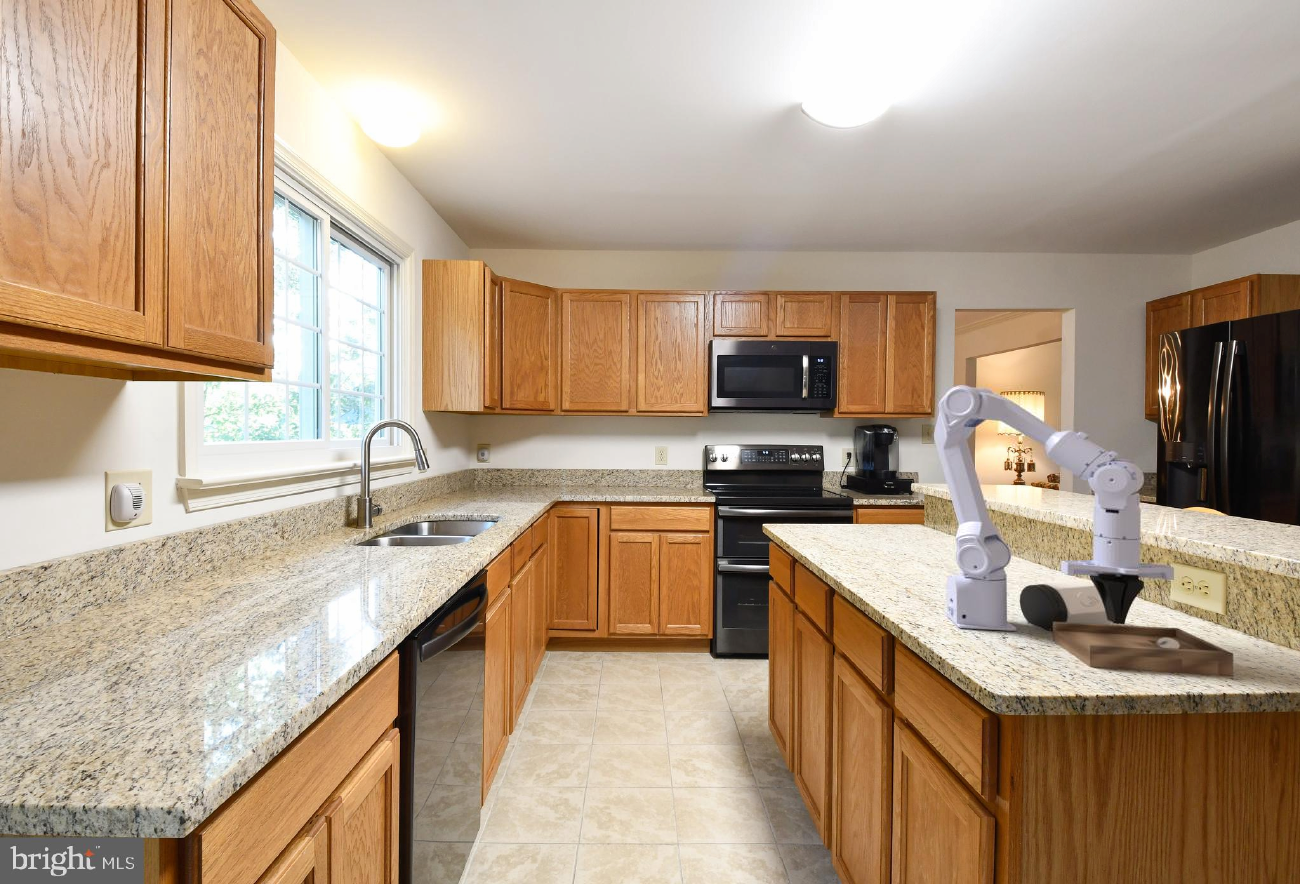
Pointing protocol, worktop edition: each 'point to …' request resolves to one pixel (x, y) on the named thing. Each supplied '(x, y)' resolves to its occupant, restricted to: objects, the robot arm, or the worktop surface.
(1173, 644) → the ball
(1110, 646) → the board
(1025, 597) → the jar
